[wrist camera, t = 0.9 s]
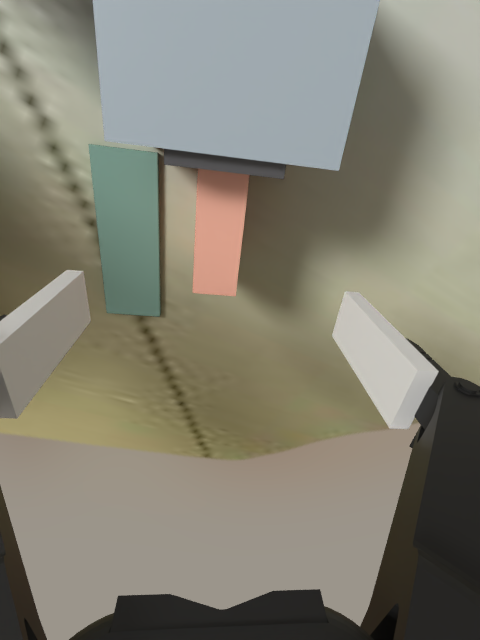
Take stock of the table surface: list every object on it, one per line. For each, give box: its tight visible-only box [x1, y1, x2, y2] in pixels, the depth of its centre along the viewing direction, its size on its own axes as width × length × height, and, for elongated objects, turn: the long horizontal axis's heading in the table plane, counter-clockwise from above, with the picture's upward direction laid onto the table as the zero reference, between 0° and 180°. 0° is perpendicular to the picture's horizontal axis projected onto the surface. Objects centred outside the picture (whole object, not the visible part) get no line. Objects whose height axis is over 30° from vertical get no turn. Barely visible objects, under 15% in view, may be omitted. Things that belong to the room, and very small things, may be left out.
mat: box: [89, 144, 161, 317], centre depth 32 cm, size 6×17×1 cm, turn 174°
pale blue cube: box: [93, 0, 380, 179], centre depth 20 cm, size 13×15×14 cm
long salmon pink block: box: [193, 169, 250, 296], centre depth 25 cm, size 4×16×10 cm, turn 174°
